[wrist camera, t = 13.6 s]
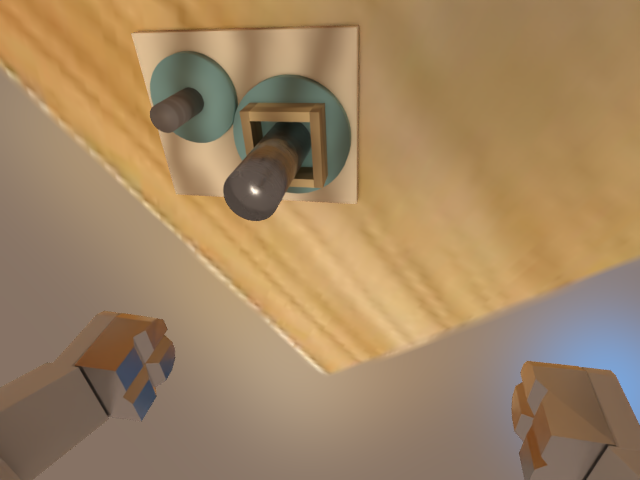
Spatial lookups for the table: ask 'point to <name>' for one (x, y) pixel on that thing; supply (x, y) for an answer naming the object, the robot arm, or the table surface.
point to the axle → (267, 171)
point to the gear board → (255, 102)
